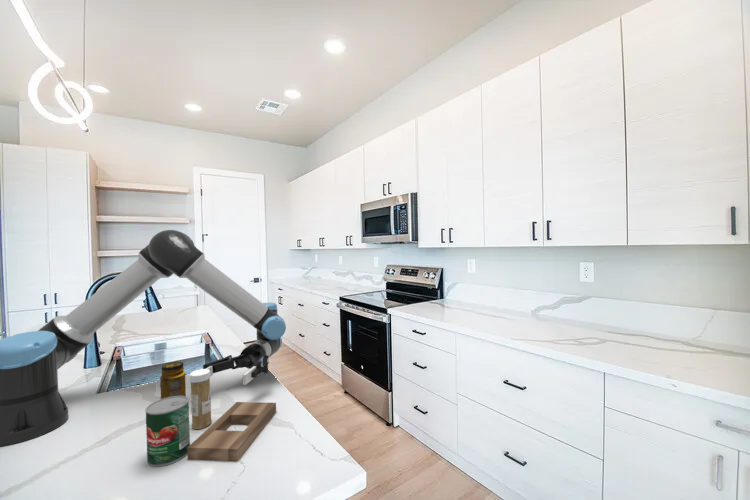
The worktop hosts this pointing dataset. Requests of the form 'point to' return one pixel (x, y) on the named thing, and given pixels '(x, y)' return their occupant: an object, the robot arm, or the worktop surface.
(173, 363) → the condiment
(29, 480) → the worktop surface
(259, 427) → the hole board
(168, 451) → the canned tomato
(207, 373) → the sprinkles bottle
